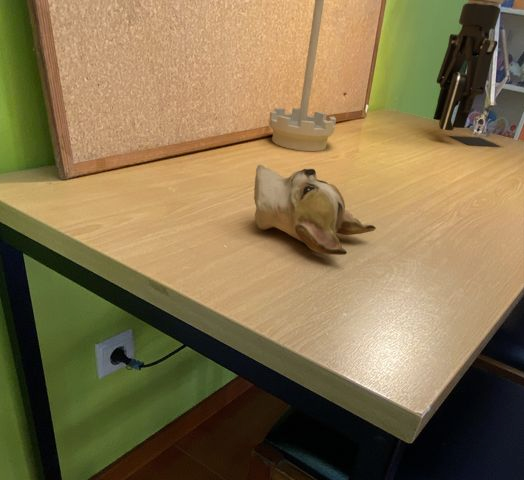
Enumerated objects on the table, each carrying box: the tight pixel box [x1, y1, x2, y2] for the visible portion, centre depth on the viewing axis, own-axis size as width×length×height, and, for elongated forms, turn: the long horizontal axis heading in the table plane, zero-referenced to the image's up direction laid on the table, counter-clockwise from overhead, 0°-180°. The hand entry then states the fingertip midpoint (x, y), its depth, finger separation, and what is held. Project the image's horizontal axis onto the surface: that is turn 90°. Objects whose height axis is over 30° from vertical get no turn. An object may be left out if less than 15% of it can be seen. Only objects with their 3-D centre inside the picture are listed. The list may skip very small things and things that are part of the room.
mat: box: [449, 135, 500, 148], centre depth 123 cm, size 8×9×1 cm
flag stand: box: [268, 0, 337, 152], centre depth 93 cm, size 13×13×30 cm
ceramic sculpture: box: [253, 164, 377, 256], centre depth 60 cm, size 11×9×15 cm
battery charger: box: [438, 71, 467, 131], centre depth 114 cm, size 7×4×11 cm, turn 166°
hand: (448, 123), depth 117 cm, fingers closed on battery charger, 7 cm apart
